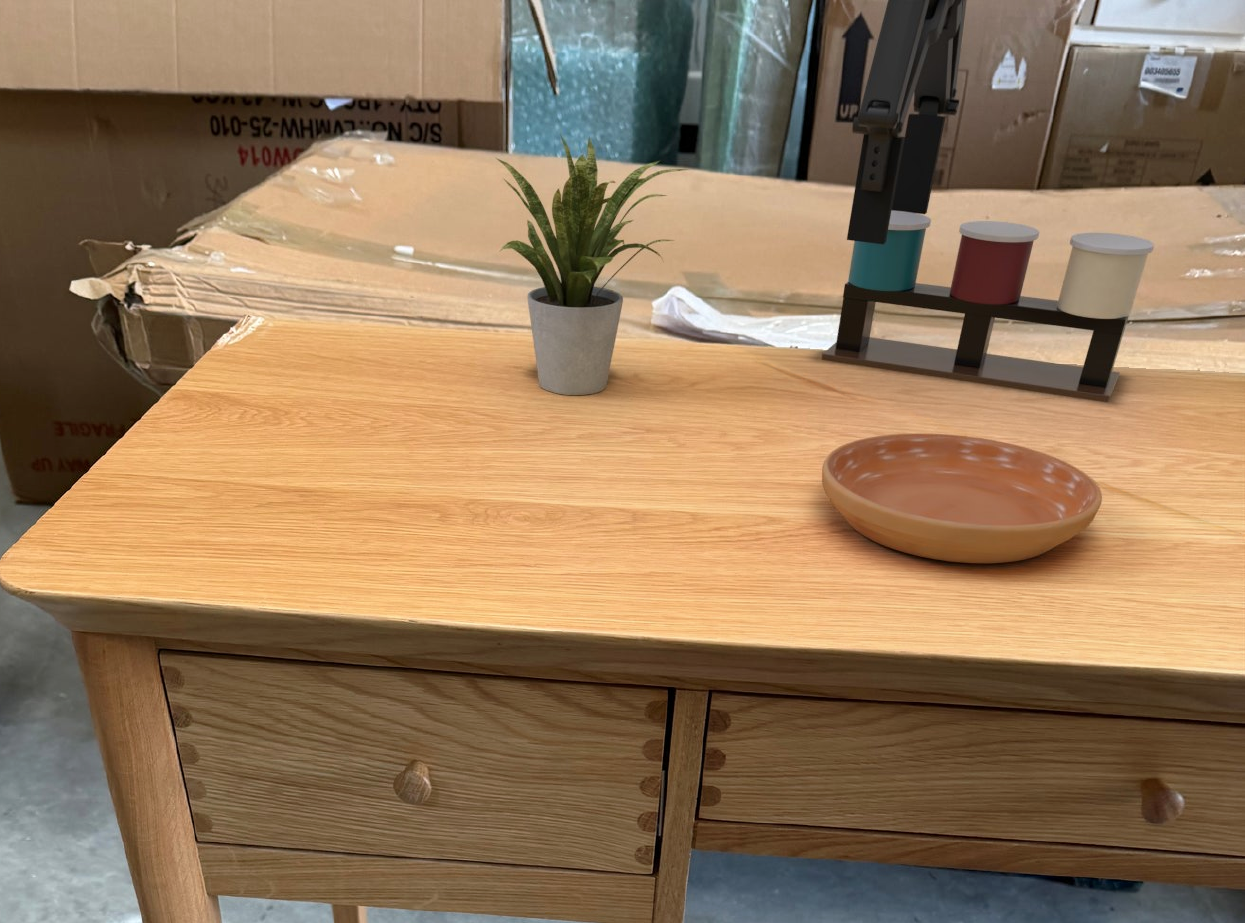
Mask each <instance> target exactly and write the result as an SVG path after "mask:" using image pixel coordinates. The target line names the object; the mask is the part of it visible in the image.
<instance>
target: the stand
mask: <svg viewBox="0 0 1245 923" xmlns="http://www.w3.org/2000/svg"><path fill="white" fill-rule="evenodd" d="M950 289H951V286H944V285H937V284H928V283H920V282H919V283H918V282H916V284H915V287H914V288H912V289H909V290H903V291H878V290H870V289H864V288H860V287H857V286H854V285H852V284H850V283H849V281H848V280H847V281H846V282H845V283H844V286H843V293H842V303H841V310H840V316H839V323H838V329H837V335H836V342H834V343H833V344H832V345H830V347H829V348H827V349H826V350H825V351H824V352H823V353H822V354H821V360H822V361H826V362H834V363H841V364H846V365H853V366H861V367H867V368H872V369H873V368H874V369H880V370H886V371H894V372H899V373H900V372H901V373H907V374H913V375H914V374H915V375H921V376H926V377H927V376H928V377H934V378H940V379H946V380H947V379H948V380H954V381H960V382H966V383H968V382H969V383H974V384H981V385H988V386H994V387H1000V388H1008V389H1015V390H1021V391H1027V392H1028V391H1029V392H1034V393H1041V394H1048V395H1054V396H1062V397H1069V398H1073V399H1074V398H1075V399H1081V400H1089V401H1096V402H1103V403H1109V402H1110V398H1111V396H1112V394H1113V391H1114V389H1115V386H1116V384H1117V382H1118V379H1119V376H1120V372H1119V371H1114V366H1115V363H1116V360H1117V356H1118V354H1119V350H1120V347H1121V343H1122V340H1123V337H1124V334H1125V330H1126V327H1127V324H1128V320H1129V316H1130V315H1129V316H1127V317H1123V318H1117V319H1098V318H1088V317H1082V316H1077V315H1072V314H1069V313H1066V312H1063V311H1061V310H1060V309H1058V307H1057V304H1058V300H1056V299H1049V298H1048V299H1046V298H1040V297H1039V298H1038V297H1031V296H1024V295H1021V296H1020V299H1019V301H1017V302H1015V303H1011V304H1002V305H991V304H979V303H972V302H967V301H963V300H960V299H957V298H955V297H953V296H951V295H950ZM876 303H881V304H888V305H896V306H903V307H909V308H910V307H912V308H918V309H925V310H934V311H941V312H948V313H957V314H964V317H963V321H962V326H961V330H960V334H959V339H958V344H957V348H950V347H943V346H936V345H928V344H921V343H913V342H906V341H902V340H901V341H900V340H893V339H886V338H880V337H871V332H872V326H873V321H874V315H875V309H876ZM996 319H1002V320H1011V321H1017V322H1018V321H1019V322H1025V323H1026V322H1027V323H1033V324H1040V325H1048V326H1057V327H1063V328H1070V329H1078V330H1086V331H1092V335H1091V338H1090V341H1089V345H1088V349H1087V352H1086V356H1085V359H1084V363H1083V366H1077V365H1070V364H1064V363H1056V362H1049V361H1042V360H1036V359H1035V360H1034V359H1028V358H1021V357H1014V356H1006V355H999V354H992V353H988V350H989V345H990V342H991V336H992V332H993V328H994V324H995V320H996Z"/></svg>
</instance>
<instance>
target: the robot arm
mask: <svg viewBox="0 0 1245 923" xmlns="http://www.w3.org/2000/svg"><path fill="white" fill-rule="evenodd" d="M967 2H968V0H887V3H886V8H885V12H884V15H883V19H882V23H881V27H880V31H879V36H878V37H877V38H878V39H877V43H876V46H875V50H874V55H873V58H872V62H871V66H870V69H869V74H868V78H867V82H866V85H865V90H864V94H863V98H862V101H861V105H860V109H859V111H858V112H857V113H858V114H857V117H856V116H855V117H853V122H852V128H851V131H852V134H856V135H857V134H858V135H862V136H863V137H862V143H861V149H860V154H859V160H858V161H859V162H858V167H857V174H856V180H855V186H854V192H853V198H852V204H851V211H850V215H849V216H850V219H849V224H848V229H847V235H846V241H852V242H854V241H860V242H868V243H876V244H885V243H886V238H887V233H888V227H889V222H890V216H891V211H892V210H893V211H904V212H911V213H916V214H921V215H926V214H928V210H929V204H930V200H931V199H930V198H931V193H932V190H933V189H932V188H933V183H934V179H935V173H936V168H937V162H938V158H939V154H940V148H941V142H942V138H943V132H944V128H945V123H946V118H947V116H955V117H956V115H957V113H958V110H959V105H960V99H956V96H957V93H958V91H957V84H958V74H959V68H960V60H961V59H960V58H961V50H962V42H963V33H964V25H965V18H966V17H965V16H966V8H967ZM912 99H913V105H912V106H913V112H914V113H909V110H910V105H911V102H912ZM908 113H909V114H908ZM907 115H908V117H907ZM941 115H943V116H941ZM906 118H907V121H906ZM905 122H906V128H905V133H904V134H905V135H904V136H901V133H902V132H903V131H904V125H905Z"/></svg>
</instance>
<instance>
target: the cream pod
mask: <svg viewBox="0 0 1245 923" xmlns="http://www.w3.org/2000/svg"><path fill="white" fill-rule="evenodd" d="M1069 245H1070V246H1071V251H1070V254H1069V258H1068V262H1067V266H1066V270H1065V274H1064V278H1063V281H1062V284H1061V289H1060V293H1059V297H1058V300H1057V301H1058V304H1057V307H1058V309H1060V310H1061V311H1063V312H1066V313H1069V314H1072V315H1077V316H1082V317H1088V318H1098V319H1117V318H1123V317H1127V316H1130V315H1131V314H1132V313H1131V312H1132V308H1133V305H1134V303H1135V300H1136V295H1137V292H1138V288H1139V285H1140V282H1141V278H1142V275H1143V272H1144V269H1145V265H1146V261H1147V258H1148V255H1149V254H1151V253H1152V252H1153V251H1154V249H1155V248H1154V247H1155V243H1154V242H1152V241H1150V240H1149V239H1145V238H1142V237H1139V236H1133V235H1128V234H1121V233H1111V232H1110V233H1109V232H1083V233H1076V234H1074V235H1071V237H1070V240H1069Z"/></svg>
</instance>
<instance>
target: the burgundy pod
mask: <svg viewBox="0 0 1245 923" xmlns="http://www.w3.org/2000/svg"><path fill="white" fill-rule="evenodd" d="M958 232H959V234H960V235H961V237H960V242H959V247H958V250H957V256H956V260H955V265H954V269H953V276H952V280H951V285H950V287H951V289H950V295H951V296H953V297H955V298H957V299H960V300H963V301H967V302H972V303H979V304H991V305H1002V304H1011V303H1015V302H1017V301H1019V299H1020V296H1022V293H1023V292H1022V291H1023V287H1024V283H1025V279H1026V276H1027V271H1028V266H1029V262H1030V257H1031V253H1032V250H1033V247H1034V242H1035V241H1036V240H1038V239H1039V236H1040V230H1038V228H1035V227H1032V226H1029V225H1026V224H1021V223H1014V222H1008V221H996V220H995V221H993V220H978V221H977V220H976V221H969V222H967V221H966V222H964V223H961V224H960V225H959V230H958Z"/></svg>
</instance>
